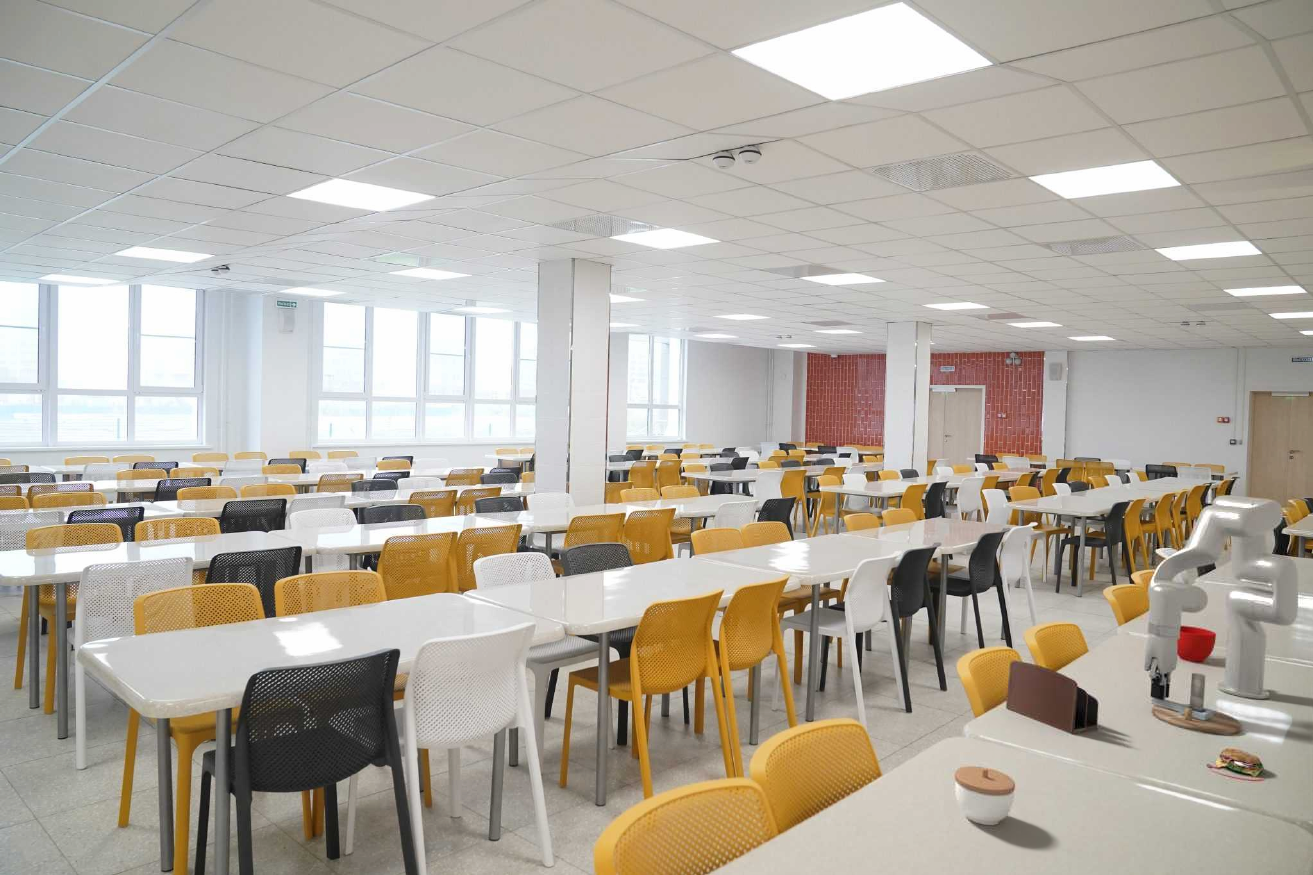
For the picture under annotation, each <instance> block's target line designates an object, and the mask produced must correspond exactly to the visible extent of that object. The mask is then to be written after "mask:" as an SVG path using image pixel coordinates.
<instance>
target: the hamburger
mask: <svg viewBox="0 0 1313 875" xmlns="http://www.w3.org/2000/svg"><path fill="white" fill-rule="evenodd" d="M1218 755H1219V756H1218V757H1217V759H1216V761H1215V763H1216V766H1214V765H1212V764H1209V763H1206V767H1207V768H1210V769H1209V771H1211V772H1212V773H1216V774H1217V775H1221V776H1224V777H1228V778H1231V779H1236V780H1240V781H1241V780H1242V781H1247V782H1248V781H1249V782H1262V781H1265V780H1267V779H1266V778H1264V779H1263V778H1262V779H1252V778H1251V779H1249V778H1248V779H1247V778H1241V777H1237V776H1231V775H1227V774H1224V773H1220V772H1218V771H1214V770H1212V769H1216V770H1221V769H1222V767H1226V768H1227V769H1230V770H1232V771H1235V772H1239V773H1244V774H1250V775H1251V776H1252V777H1253V778H1256V777H1257V776H1258V775H1259V774H1260V772H1261V771H1262V770H1264V765H1263V763H1262V761H1261V759H1260V758H1259V757H1258V756H1256V755H1253V754H1252V753H1248V752H1247V751H1244V750H1241V749H1236V748H1225V749H1223V750H1222V751H1221V752H1220V753H1219V754H1218Z"/></svg>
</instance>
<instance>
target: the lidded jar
mask: <svg viewBox="0 0 1313 875" xmlns="http://www.w3.org/2000/svg"><path fill="white" fill-rule="evenodd" d="M1015 789H1016V782H1015V781H1014V779H1013V778H1012V777H1011V776H1009V775H1007V774H1005V773H1004V772H1001V771H998V770H995V769H993V768H988V767H983V766H974V765H969V766H962V767H959V768H957V769H956V770H955V772H954V792H955V798H956V802H957V804H958V806H959V808H960V809H961V811H962V812H963V814H965V817H966V818H967V819H968V820H970V821H971V822H973V823H976V824H979V825H982V826H983V825H984V826H995V825H998V824H1000V821H1003V820H1004V819H1005V818H1006V817H1007V816H1008V814H1009V813H1010V812H1011V809H1012V806H1013V803H1014V794H1015Z"/></svg>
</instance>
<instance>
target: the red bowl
mask: <svg viewBox="0 0 1313 875" xmlns="http://www.w3.org/2000/svg"><path fill="white" fill-rule="evenodd" d="M1216 638H1217V634H1216V632H1215V631H1212V630H1209V629H1205V628H1201V627H1196V626H1187V625H1181V626H1180V639H1177V657H1179V659H1180V660H1183V661H1187V662H1191V663H1203V662H1204V661H1205V660H1207V659H1208V658H1209V657H1210V655H1211V654H1212V652H1213V651H1214V648H1215V644H1216Z"/></svg>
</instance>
